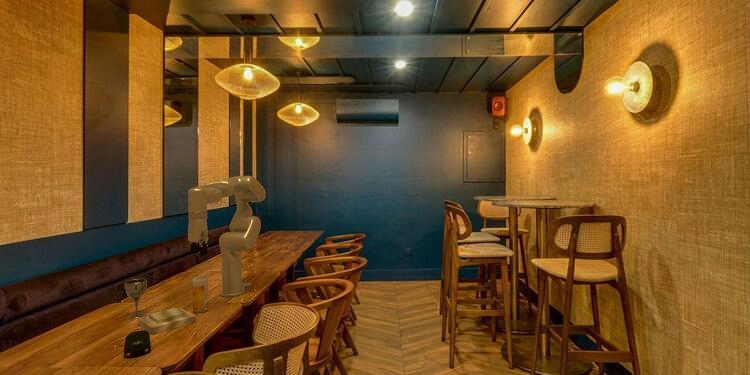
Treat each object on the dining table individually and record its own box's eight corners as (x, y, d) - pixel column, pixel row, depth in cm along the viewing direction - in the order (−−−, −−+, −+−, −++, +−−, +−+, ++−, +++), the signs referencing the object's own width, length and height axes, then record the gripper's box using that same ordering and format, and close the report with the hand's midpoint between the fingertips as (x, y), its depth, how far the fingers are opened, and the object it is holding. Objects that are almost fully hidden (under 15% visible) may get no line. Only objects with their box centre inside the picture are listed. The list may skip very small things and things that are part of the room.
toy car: (123, 361, 116) (123, 345, 116) (125, 342, 130) (124, 329, 130) (151, 354, 120) (150, 339, 120) (149, 337, 134) (149, 324, 134)
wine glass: (151, 313, 159) (150, 279, 159) (133, 319, 152) (132, 284, 152) (140, 311, 162) (139, 277, 162) (121, 317, 155) (120, 282, 155)
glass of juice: (196, 309, 164) (195, 276, 164) (210, 308, 164) (209, 275, 164) (190, 313, 158) (189, 279, 158) (205, 313, 158) (204, 279, 158)
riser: (180, 313, 158) (180, 304, 158) (195, 322, 148) (195, 312, 148) (138, 324, 146) (138, 314, 146) (151, 335, 136) (151, 324, 136)
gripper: (181, 215, 163) (182, 253, 163) (197, 217, 152) (198, 258, 152) (198, 214, 169) (199, 251, 169) (215, 216, 158) (216, 255, 158)
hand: (198, 254), depth 160 cm, fingers open, 9 cm apart
